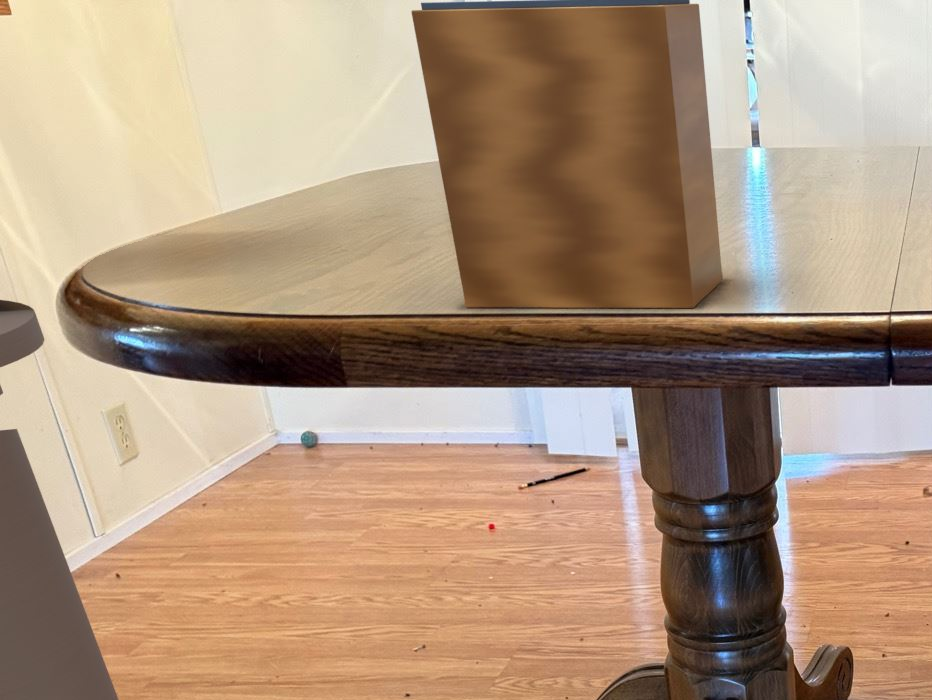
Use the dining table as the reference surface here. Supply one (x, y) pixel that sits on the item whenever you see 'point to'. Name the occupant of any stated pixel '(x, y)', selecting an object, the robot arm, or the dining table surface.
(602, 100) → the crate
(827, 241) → the dining table surface
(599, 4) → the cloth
